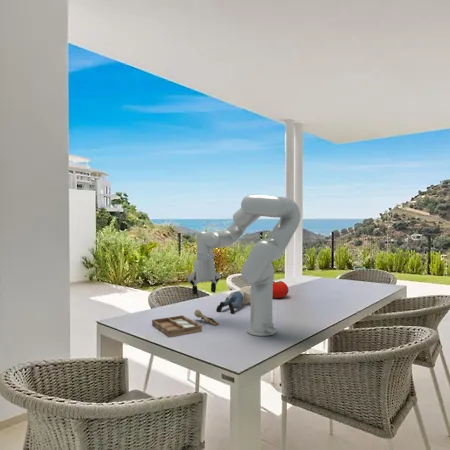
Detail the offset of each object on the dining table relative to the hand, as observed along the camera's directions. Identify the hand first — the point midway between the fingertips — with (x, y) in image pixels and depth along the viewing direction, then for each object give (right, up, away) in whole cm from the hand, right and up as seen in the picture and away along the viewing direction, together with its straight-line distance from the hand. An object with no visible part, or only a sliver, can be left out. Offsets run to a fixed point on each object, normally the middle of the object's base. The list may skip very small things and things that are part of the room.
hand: (204, 293), depth 179 cm
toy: (+17, -14, +31) cm, 38 cm away
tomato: (+42, -13, +57) cm, 72 cm away
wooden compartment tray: (-12, -14, -9) cm, 21 cm away
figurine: (+1, -14, 0) cm, 14 cm away
